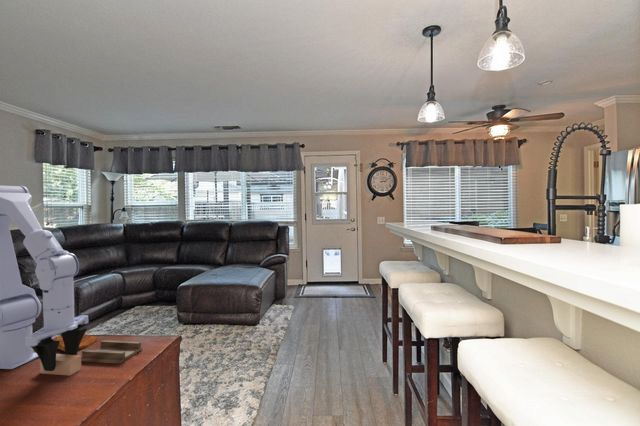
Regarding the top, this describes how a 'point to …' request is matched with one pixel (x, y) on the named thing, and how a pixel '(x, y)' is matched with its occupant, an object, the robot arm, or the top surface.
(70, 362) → the clay strip
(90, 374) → the top surface
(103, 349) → the grey u-channel
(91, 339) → the pottery fragment
